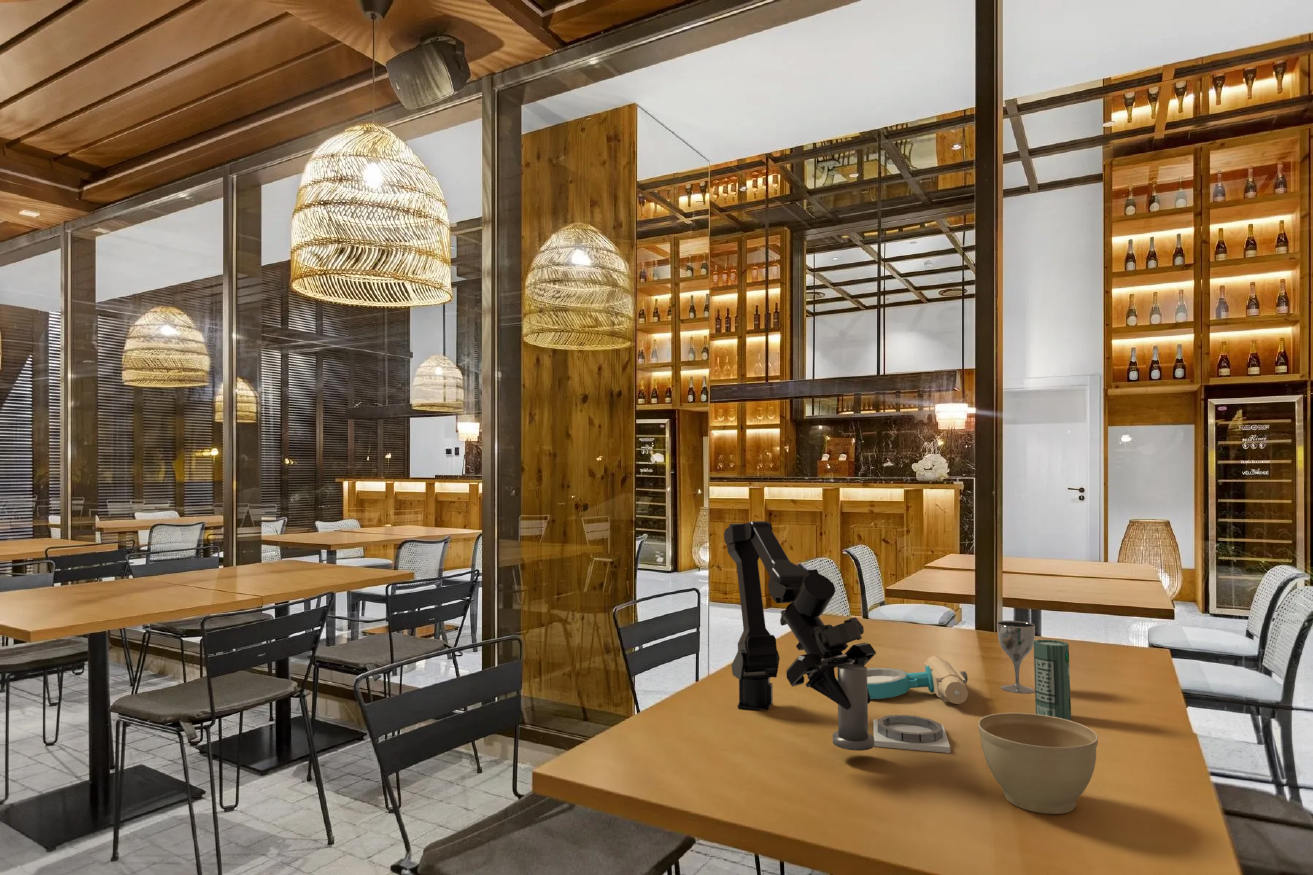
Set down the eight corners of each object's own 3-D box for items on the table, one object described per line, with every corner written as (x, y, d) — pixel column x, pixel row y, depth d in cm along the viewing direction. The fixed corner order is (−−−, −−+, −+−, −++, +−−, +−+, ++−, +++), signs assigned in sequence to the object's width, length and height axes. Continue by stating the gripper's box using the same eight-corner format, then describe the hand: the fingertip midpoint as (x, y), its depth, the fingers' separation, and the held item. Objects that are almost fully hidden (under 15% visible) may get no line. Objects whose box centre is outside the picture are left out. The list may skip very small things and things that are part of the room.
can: (1076, 718, 154) (1073, 643, 155) (1059, 723, 151) (1056, 646, 152) (1048, 710, 159) (1045, 638, 160) (1030, 715, 156) (1028, 641, 157)
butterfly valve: (835, 720, 162) (983, 712, 156) (831, 687, 162) (978, 678, 157) (831, 687, 188) (958, 679, 182) (828, 659, 189) (954, 650, 183)
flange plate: (874, 746, 138) (873, 732, 138) (873, 724, 150) (873, 711, 150) (950, 752, 134) (950, 738, 134) (943, 729, 147) (942, 716, 147)
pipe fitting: (831, 748, 129) (830, 670, 130) (833, 735, 136) (832, 661, 137) (874, 752, 127) (873, 673, 128) (874, 738, 134) (872, 664, 135)
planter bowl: (997, 773, 125) (995, 705, 126) (1109, 798, 115) (1106, 725, 115) (965, 805, 113) (963, 730, 113) (1088, 837, 102) (1085, 754, 103)
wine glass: (999, 691, 174) (997, 625, 174) (998, 683, 181) (996, 619, 182) (1038, 695, 171) (1036, 627, 172) (1035, 686, 178) (1033, 621, 179)
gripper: (797, 608, 131) (849, 687, 121) (866, 598, 142) (919, 670, 132) (765, 647, 136) (813, 725, 127) (834, 634, 148) (882, 705, 138)
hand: (859, 705), depth 131 cm, fingers closed on pipe fitting, 5 cm apart
